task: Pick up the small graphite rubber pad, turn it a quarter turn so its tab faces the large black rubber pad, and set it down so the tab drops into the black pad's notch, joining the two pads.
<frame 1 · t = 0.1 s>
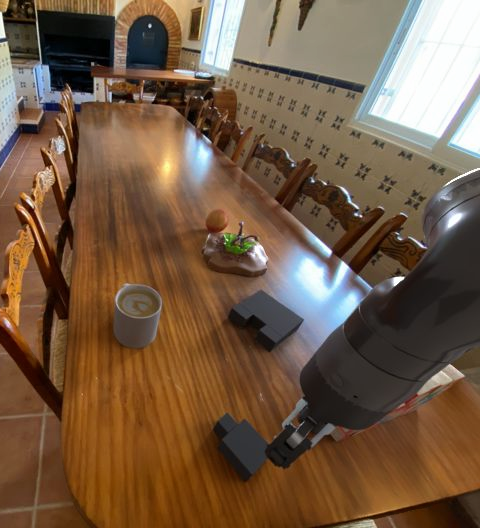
hand: (290, 437, 39), 14 cm above the table, tool pointing down, fingers open, 8 cm apart
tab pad: (241, 452, 50), on the table
stack of blocks: (363, 409, 58), on the table
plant: (232, 255, 94), on the table
coffee mug: (133, 324, 70), on the table
fruit: (213, 231, 105), on the table
notch pad: (262, 323, 73), on the table
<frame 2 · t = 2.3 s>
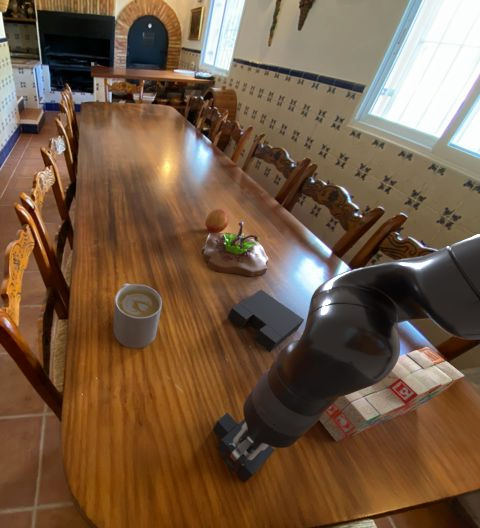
hand: (242, 451, 50), 1 cm above the table, tool pointing down, fingers closed on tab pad, 6 cm apart
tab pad: (241, 452, 50), on the table, touching gripper
everything else where it was.
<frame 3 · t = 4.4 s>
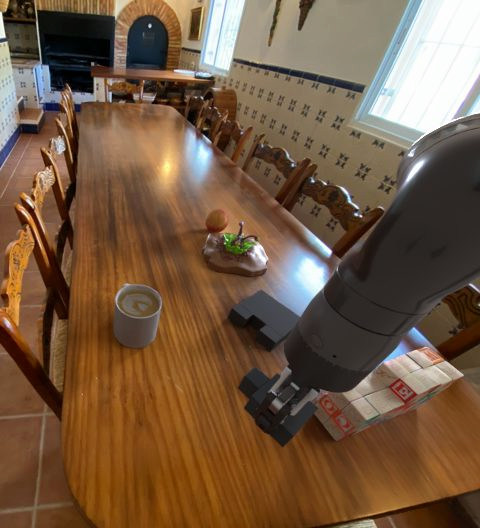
hand: (276, 411, 40), 15 cm above the table, tool pointing down, fingers closed on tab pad, 6 cm apart
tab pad: (274, 414, 41), point 15 cm above the table, touching gripper
everything else where it was.
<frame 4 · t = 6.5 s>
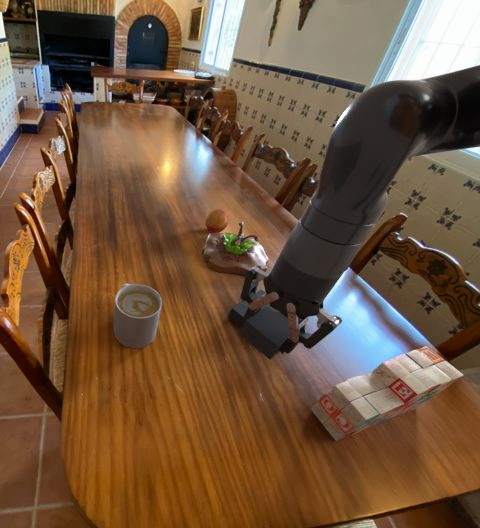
hand: (265, 335, 49), 16 cm above the table, tool pointing down, fingers closed on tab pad, 6 cm apart
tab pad: (264, 338, 50), point 15 cm above the table, touching gripper
everything else where it was.
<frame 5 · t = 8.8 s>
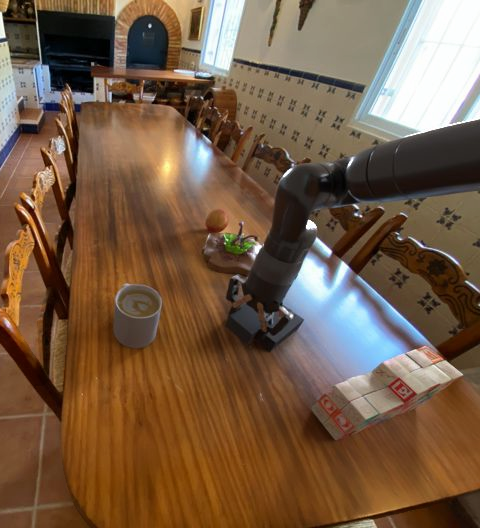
hand: (245, 327, 65), 5 cm above the table, tool pointing down, fingers closed on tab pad, 6 cm apart
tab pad: (244, 329, 66), point 4 cm above the table, touching gripper
everything else where it was.
when the fingers open (1 cm above the table, at t = 10.5 s): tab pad stays where it is, on the table.
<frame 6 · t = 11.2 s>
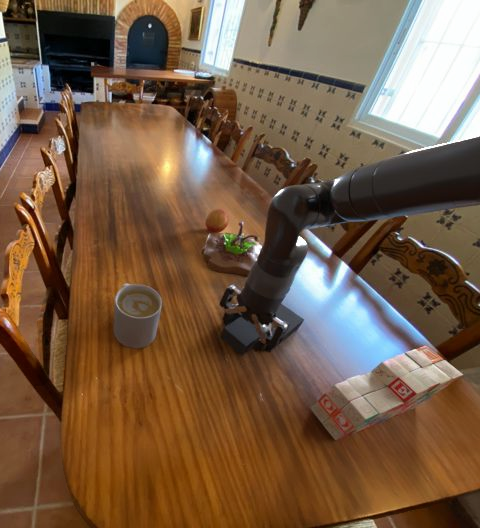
hand: (241, 335, 67), 2 cm above the table, tool pointing down, fingers open, 8 cm apart
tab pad: (238, 340, 68), on the table
everything else where it was.
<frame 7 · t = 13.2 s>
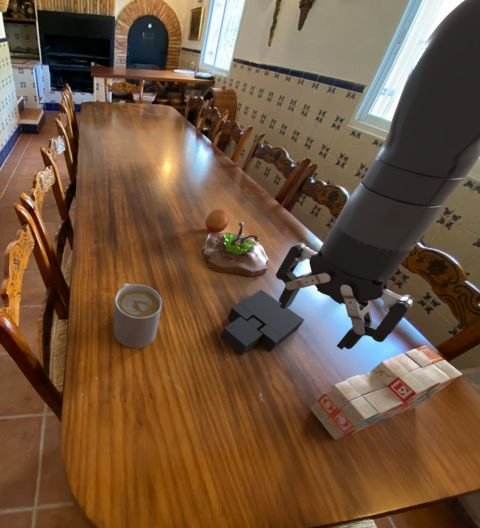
hand: (311, 324, 43), 23 cm above the table, tool pointing down, fingers open, 8 cm apart
nothing on the table moved.
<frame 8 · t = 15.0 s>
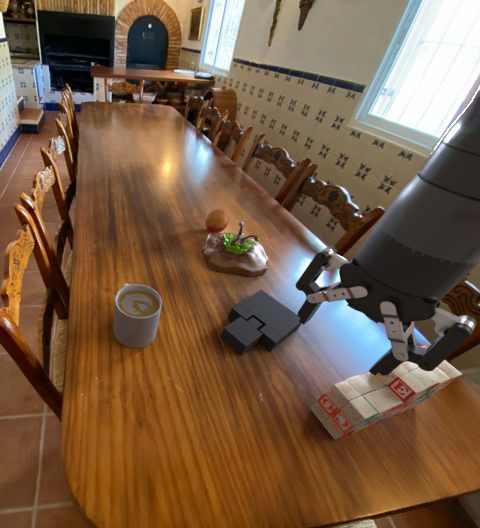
hand: (337, 343, 36), 26 cm above the table, tool pointing down, fingers open, 8 cm apart
nothing on the table moved.
at the end: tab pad 0.1 cm from the target spot on the table beside the notch pad, on the table; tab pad tilted 0°; the gripper is holding nothing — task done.
